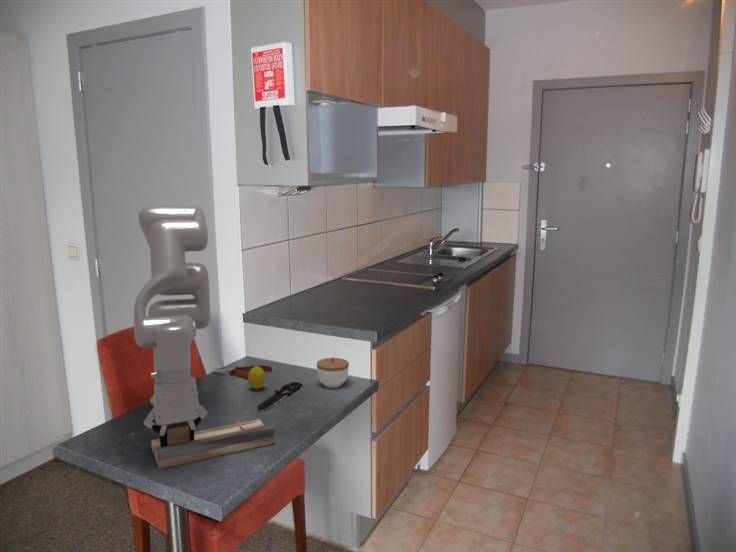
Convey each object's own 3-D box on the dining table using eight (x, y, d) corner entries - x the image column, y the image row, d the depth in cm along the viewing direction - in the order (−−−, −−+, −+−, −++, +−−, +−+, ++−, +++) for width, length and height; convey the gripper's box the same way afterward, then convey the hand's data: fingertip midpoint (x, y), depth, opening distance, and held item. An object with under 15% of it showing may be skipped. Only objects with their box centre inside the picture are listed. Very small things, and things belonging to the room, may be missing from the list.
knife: (261, 415, 159) (261, 411, 158) (243, 411, 161) (243, 406, 161) (307, 387, 181) (307, 383, 181) (291, 384, 184) (291, 380, 184)
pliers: (220, 368, 199) (219, 361, 199) (273, 371, 197) (272, 365, 196) (206, 379, 188) (206, 371, 188) (262, 382, 185) (262, 375, 185)
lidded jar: (353, 382, 186) (354, 355, 185) (339, 392, 176) (339, 364, 175) (326, 377, 190) (326, 351, 189) (310, 387, 181) (310, 360, 179)
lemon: (265, 392, 175) (264, 368, 174) (247, 393, 174) (247, 369, 173) (265, 386, 181) (265, 363, 180) (248, 386, 180) (248, 363, 179)
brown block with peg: (162, 438, 137) (161, 416, 136) (182, 434, 139) (181, 412, 139) (168, 453, 129) (167, 429, 129) (189, 449, 132) (189, 425, 131)
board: (150, 446, 138) (150, 429, 137) (258, 424, 151) (258, 409, 151) (159, 469, 127) (158, 451, 126) (274, 443, 140) (273, 427, 140)
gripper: (138, 385, 122) (141, 461, 125) (214, 373, 130) (216, 445, 133) (134, 375, 129) (137, 447, 131) (207, 364, 137) (209, 433, 140)
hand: (177, 445), depth 132 cm, fingers closed on brown block with peg, 5 cm apart
